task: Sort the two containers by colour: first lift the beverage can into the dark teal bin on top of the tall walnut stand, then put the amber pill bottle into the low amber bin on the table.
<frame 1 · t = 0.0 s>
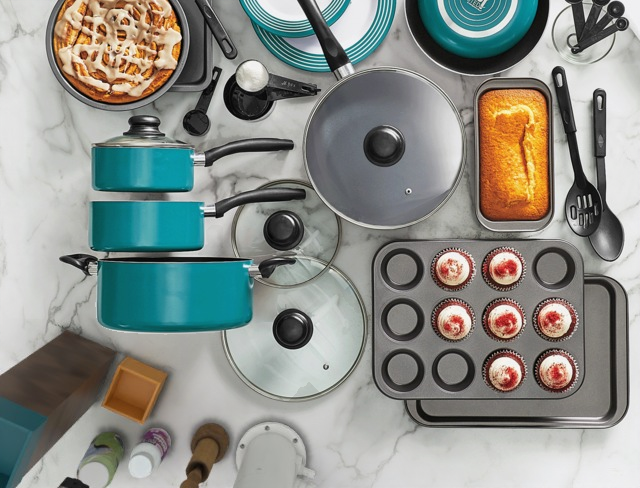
pill bottle: (157, 440, 123), on the worktop
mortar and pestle: (211, 440, 122), on the worktop
riser: (81, 365, 122), on the worktop
teal bin: (0, 434, 94), resting on riser
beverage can: (113, 444, 123), on the worktop
amber bin: (138, 385, 122), on the worktop
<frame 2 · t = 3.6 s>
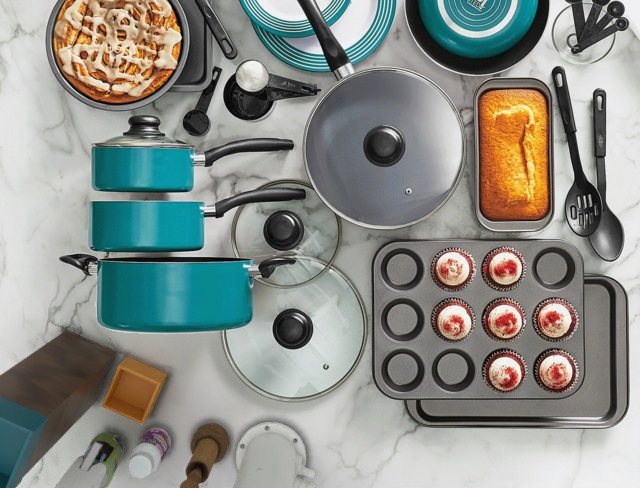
hand: (97, 464, 115), 7 cm above the worktop, tool pointing down, fingers closed on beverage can, 6 cm apart
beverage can: (113, 444, 123), on the worktop, touching gripper
everything else where it was.
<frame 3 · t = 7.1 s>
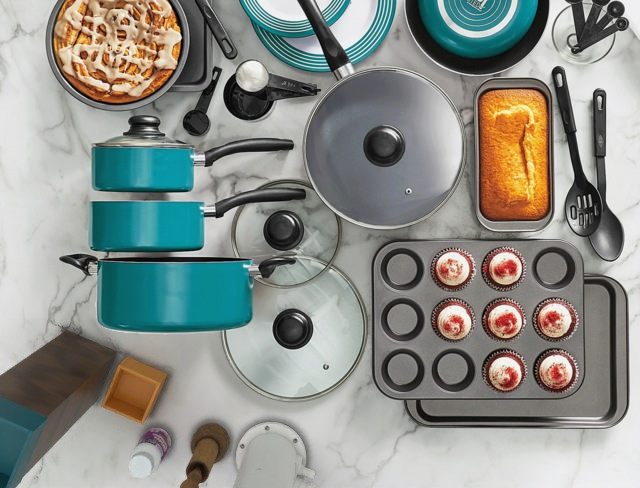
when the fingers open (36 cm above the worktop, at t = 10.6 s): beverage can stays where it is, resting on teal bin.
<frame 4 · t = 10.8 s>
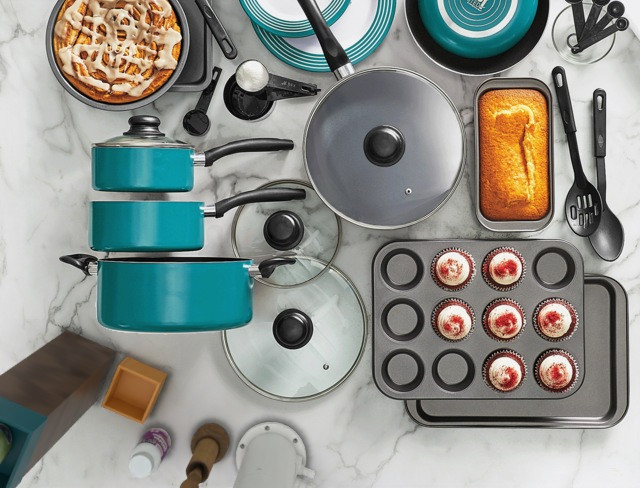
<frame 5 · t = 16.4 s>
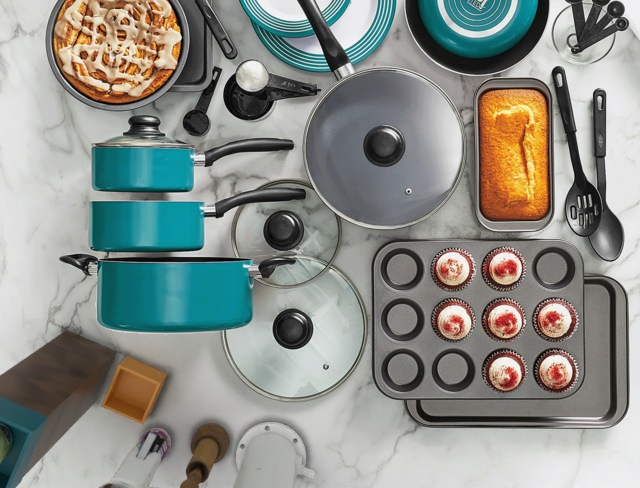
hand: (148, 453, 118), 5 cm above the worktop, tool pointing down, fingers closed on pill bottle, 5 cm apart
pill bottle: (157, 440, 123), on the worktop, touching gripper
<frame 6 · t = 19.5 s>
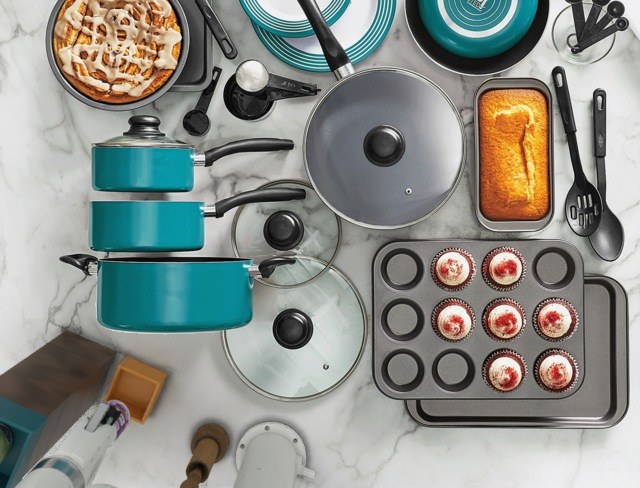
hand: (103, 428, 105), 17 cm above the worktop, tool pointing down, fingers closed on pill bottle, 5 cm apart
pill bottle: (115, 414, 110), point 12 cm above the worktop, touching gripper
when the fingers open (5 cm above the worktop, at t = 22.6 s): pill bottle stays where it is, resting on amber bin.
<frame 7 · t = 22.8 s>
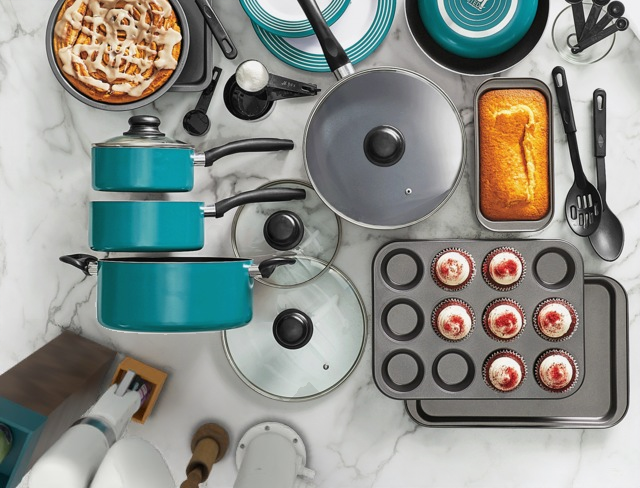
hand: (128, 396, 117), 5 cm above the worktop, tool pointing down, fingers open, 6 cm apart
pill bottle: (137, 385, 122), resting on amber bin
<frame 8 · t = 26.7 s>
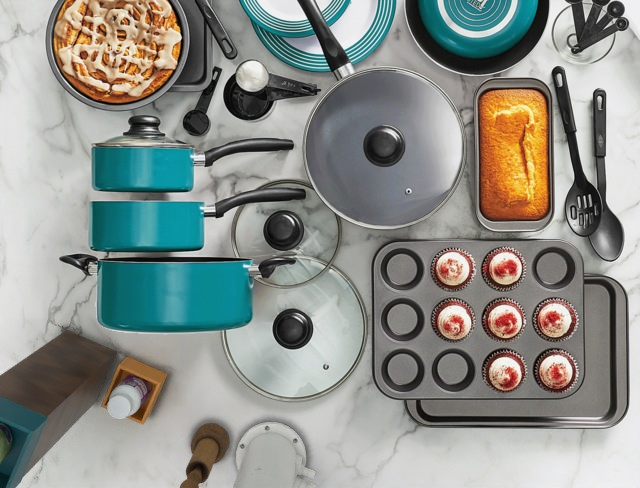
at the end: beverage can 0.1 cm off-centre on the teal bin, point 0.3 cm above the teal bin's base; pill bottle 0.1 cm off-centre in the amber bin, point 0.3 cm above the amber bin's base; pill bottle tilted 0° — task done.
